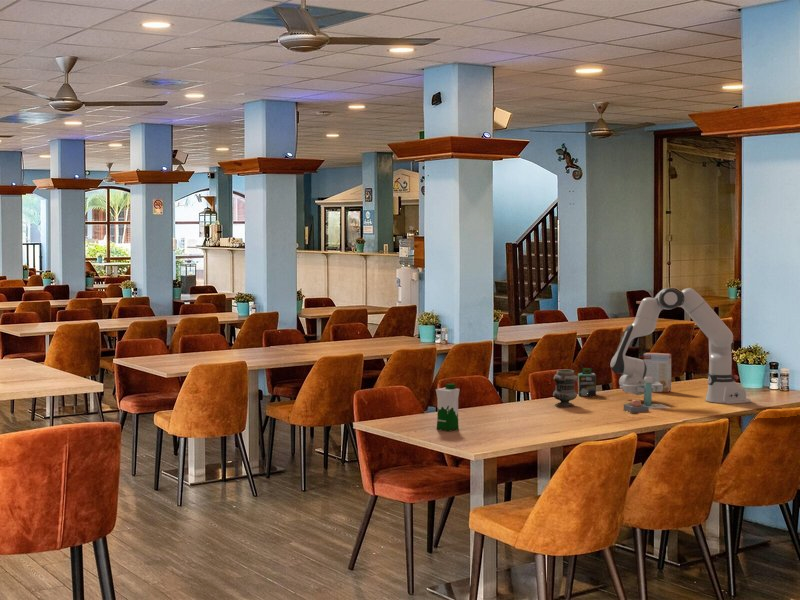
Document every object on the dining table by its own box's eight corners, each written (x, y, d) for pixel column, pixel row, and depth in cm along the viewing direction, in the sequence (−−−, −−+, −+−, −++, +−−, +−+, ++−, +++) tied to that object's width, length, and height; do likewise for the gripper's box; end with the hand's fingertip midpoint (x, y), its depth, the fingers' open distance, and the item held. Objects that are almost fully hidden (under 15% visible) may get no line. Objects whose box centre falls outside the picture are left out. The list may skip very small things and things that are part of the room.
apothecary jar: (563, 408, 501) (564, 372, 500) (547, 405, 511) (548, 369, 510) (582, 406, 508) (582, 370, 507) (565, 403, 518) (566, 368, 517)
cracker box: (671, 391, 556) (671, 353, 554) (668, 392, 551) (668, 354, 549) (646, 389, 563) (646, 352, 562) (642, 390, 558) (643, 353, 557)
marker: (649, 404, 508) (650, 376, 507) (652, 405, 504) (653, 377, 503) (642, 404, 507) (643, 376, 506) (645, 405, 504) (646, 377, 503)
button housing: (640, 409, 497) (640, 403, 497) (648, 412, 488) (648, 406, 488) (623, 410, 496) (623, 404, 495) (631, 413, 487) (631, 407, 487)
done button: (638, 407, 494) (638, 399, 494) (642, 409, 490) (642, 401, 490) (629, 408, 494) (630, 399, 493) (633, 409, 489) (633, 401, 489)
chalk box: (594, 394, 547) (594, 366, 546) (596, 396, 538) (596, 369, 537) (577, 393, 548) (577, 366, 547) (578, 396, 539) (578, 368, 538)
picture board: (661, 404, 512) (661, 403, 512) (673, 409, 499) (673, 407, 499) (627, 405, 509) (627, 404, 509) (639, 410, 496) (639, 409, 495)
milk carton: (461, 429, 449) (461, 384, 448) (448, 432, 442) (448, 386, 441) (446, 426, 455) (446, 382, 453) (433, 429, 448) (433, 384, 447)
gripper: (618, 380, 516) (629, 384, 502) (655, 379, 520) (667, 383, 506) (618, 392, 516) (628, 397, 503) (655, 391, 520) (667, 395, 506)
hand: (648, 390), depth 504 cm, fingers closed on marker, 4 cm apart
